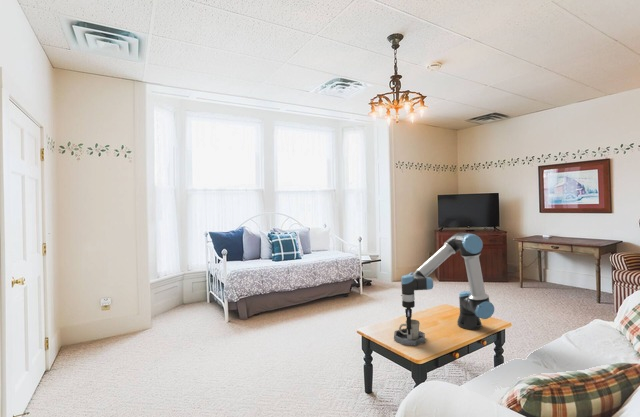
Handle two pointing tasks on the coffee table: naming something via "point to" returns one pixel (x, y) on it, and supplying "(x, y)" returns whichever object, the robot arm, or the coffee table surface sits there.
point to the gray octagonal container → (404, 341)
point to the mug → (412, 328)
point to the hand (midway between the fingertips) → (409, 337)
